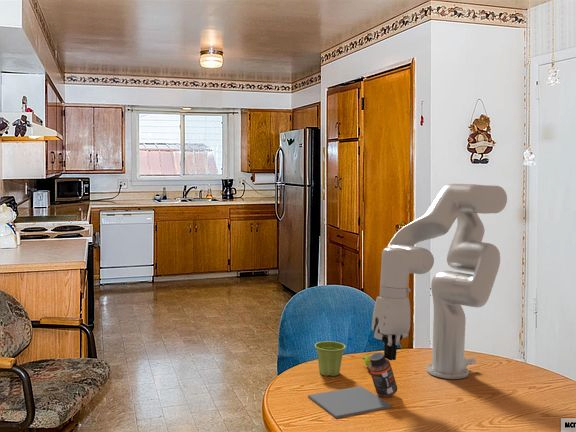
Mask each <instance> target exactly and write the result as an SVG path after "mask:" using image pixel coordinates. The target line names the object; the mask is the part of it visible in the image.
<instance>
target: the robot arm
mask: <svg viewBox="0 0 576 432" xmlns="http://www.w3.org/2000/svg"><path fill="white" fill-rule="evenodd" d="M507 203H508V194H507V191H506V190H505V189H504V187H502V186H500V185H493V184H492V185H491V184H490V185H485V184H476V183H475V184H474V183H473V184H472V183H449V184H446V185H443V186H442V187H441V189H440V190H439V191H438V193H437V194H436V196H435V197H434V199H433V201H432V202H431V203H430V205H429V206H428V207H427V209H426V210H425V212H424V214H423V215H421V216H420V217H419V218H416V219H414V220H413V221H411V222H410V223H408V224H406V225H405V226H403V227H402V228H400V229H398V231H396V232H395V234H394V235H393V237H392V238H391V240H390V241H389V242H388V244H387V246H386V247H385V248H383V250H382V252H381V265H380V282H379V284H380V285H379V296H376V299H375V303H374V307H373V311H372V312H373V313H372V322H371V331H373V332H374V335H373V338H375V339H377V340H381V342H382V344H383V345H384V347H383V349H384V351H383V354H384V356H385V359H387V360H388V361H396V360H397V349H398V346H399V344H400V342H401V340H403V339H405V338H407V337H409V332H410V329H411V304H410V298H409V297H408V294H409V293H411V288H410V287H409V276H410V274H416V275H423V274H427V273H428V272H429V271H431V270H432V268H433V267H434V264H435V258H434V255H433V253H432V252H431V251H430V250H429V249H428V248H425V247H422V246H421V247H420V246H415V245H417V244H418V243H421V242H424V241H427V240H432V239H436V238H439V237H441V236H445V235H446V234H447V233H448V232H449V231H450V230H451V228H452V226H453V224H455V222H457V225H456V229H455V232H454V235H453V238H452V240H451V243H450V246H449V248H448V252H447V256H446V262H447V265H448V266H449V267H450V268H451V269H453V271H452V270H442V271H438V272H436V274H434V276H432V279H431V283H430V286H431V287H430V289H431V294H432V295H431V296H432V301H433V303H432V304H433V322H432V323H433V324H432V325H433V327H432V328H433V329H432V352H431V353H432V355H431V363H430V364H428V365H426V372H427V373H428V374H430V375H431V376H434V377H437V378H441V379H447V380H462V379H465V378H467V377H469V375H470V370H469V369H468V368H467V367H468V366H469V365H474V364H476V359H475V358H474V357H469V358H467V357H466V356H465V344H466V343H465V342H466V341H465V339H466V338H465V337H466V314H465V311H464V309H463V306H465V307H470V308H477V309H478V308H482V307H484V306H485V305H486V304H487V302H488V301H489V299H490V296H491V292H492V291H493V288H494V284H495V282H496V281H495V280H496V277H497V275H498V272H499V269H500V264H501V253H500V251H499V247H497V246H496V245H495V244H493V243H489V242H483V239H484V236H485V226H484V223H483V221H482V219H481V218H480V216H479V214H499V213H501V212H502V211H503V210H505V208H506V205H507ZM454 270H457V271H454ZM460 271H462V272H460ZM465 272H467V273H465ZM471 273H474V274H471Z"/></svg>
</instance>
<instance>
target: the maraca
mask: <svg viewBox="0 0 576 432" xmlns="http://www.w3.org/2000/svg"><path fill="white" fill-rule="evenodd" d="M375 353H376V352H371V353H369V354H368V355H367V354H366V355H365V356H362V360H364V361H363V362H364V364H365V366H366V367H367V368H368V369H369V365H370V363H371V361H370V356H371V355H373V354H375Z"/></svg>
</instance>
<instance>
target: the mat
mask: <svg viewBox="0 0 576 432" xmlns="http://www.w3.org/2000/svg"><path fill="white" fill-rule="evenodd" d="M307 395H308V396H307V397H308V399H309V400H311V401H312V402H314V403H315V404H316V403H317V406H319V407H320V408H322V409H323V410H324V409H325V410H324V411H326V412H327V413H328V414H330V415H331V416H332V417H333V418H335V419H340V418H344V417H350V416H355V415H356V416H357V415H360V414H364V413H369V412H375V411H380V410H386V409H390V408H393V405H392V404H391V403H389V402H387V401H386V400H384V399H382V397H380V396H379V395H377V394H374V393H373V392H371V391H370V390H368V389H366V388H365V387H363V386H362V385H359V386H354V387H349V388H342V389H335V390H331V391H330V390H329V391H324V392H318V393H313V394H307Z"/></svg>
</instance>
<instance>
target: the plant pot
mask: <svg viewBox="0 0 576 432" xmlns="http://www.w3.org/2000/svg"><path fill="white" fill-rule="evenodd" d="M346 346H347V345H346V344H345V343H341V342H338V341H330V340H329V341H328V340H327V341H326V340H325V341H324V340H323V341H319V342H316V343H315V344H314V347H315V350H316V354H317V362H318V370H319V371H318V372H319V374H320V375H322V376H325V377H328V376H331V377H335V376H338V375H340V370H341V366H342V360H343V356H344V352H345V350H346V348H347V347H346Z"/></svg>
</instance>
